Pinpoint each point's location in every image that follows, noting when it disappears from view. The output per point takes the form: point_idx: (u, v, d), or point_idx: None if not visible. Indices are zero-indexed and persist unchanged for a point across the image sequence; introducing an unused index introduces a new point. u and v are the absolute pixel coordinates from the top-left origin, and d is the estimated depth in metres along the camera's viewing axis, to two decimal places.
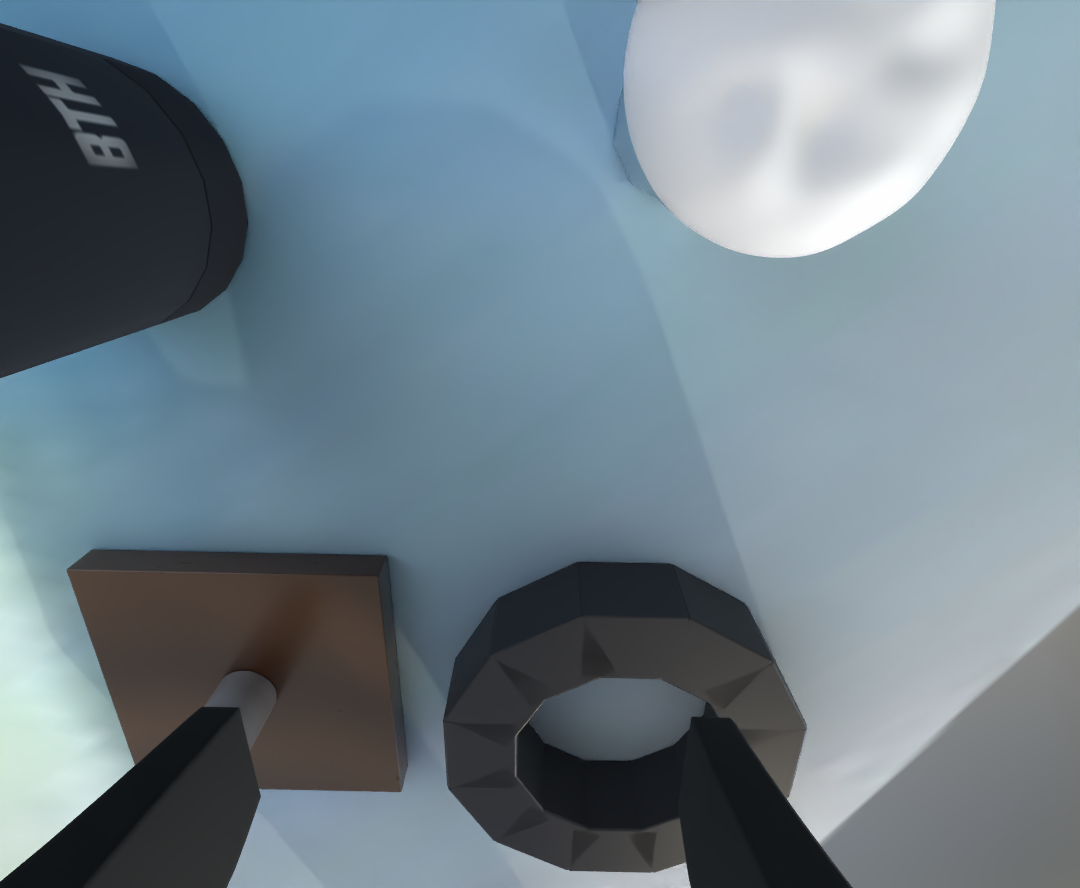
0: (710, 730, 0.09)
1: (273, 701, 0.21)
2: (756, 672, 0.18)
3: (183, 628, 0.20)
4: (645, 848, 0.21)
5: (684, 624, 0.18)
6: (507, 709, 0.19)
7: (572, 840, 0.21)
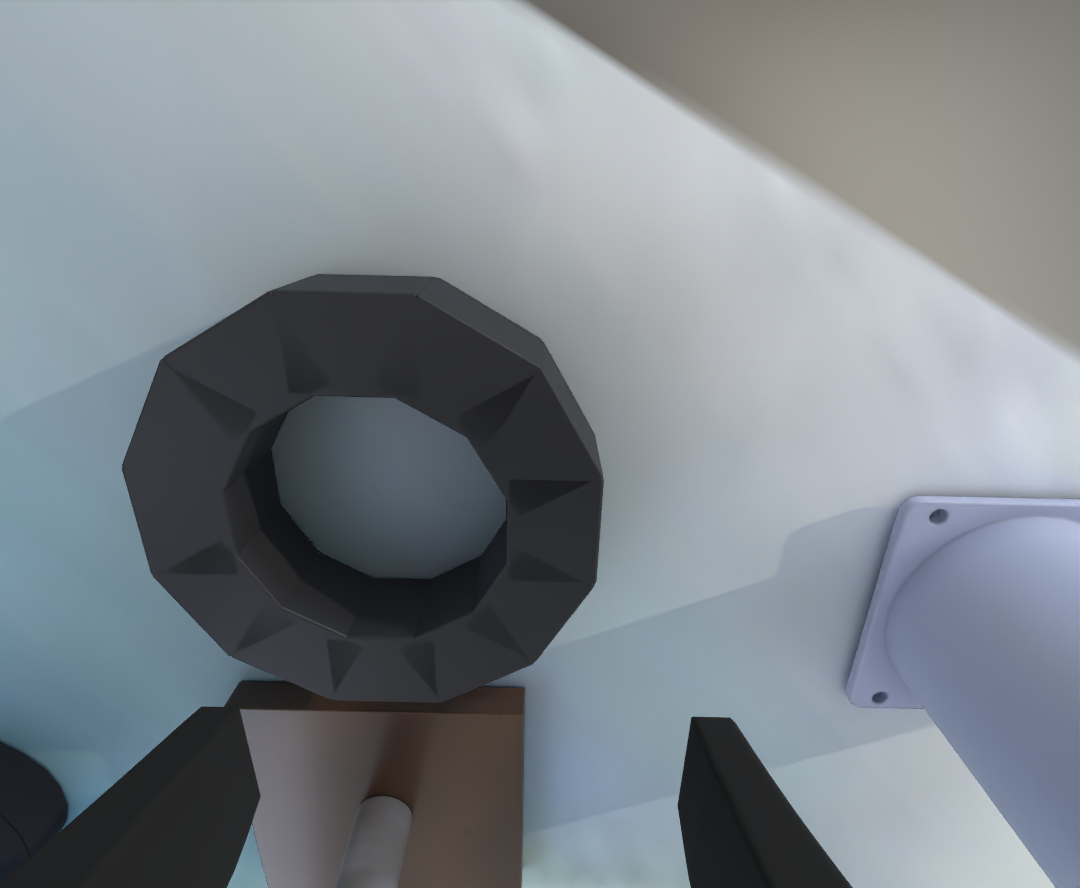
0: (710, 729, 0.09)
1: (384, 803, 0.21)
2: (182, 379, 0.14)
3: (315, 843, 0.22)
4: (544, 492, 0.15)
5: (132, 471, 0.15)
6: (304, 644, 0.17)
7: (529, 580, 0.16)
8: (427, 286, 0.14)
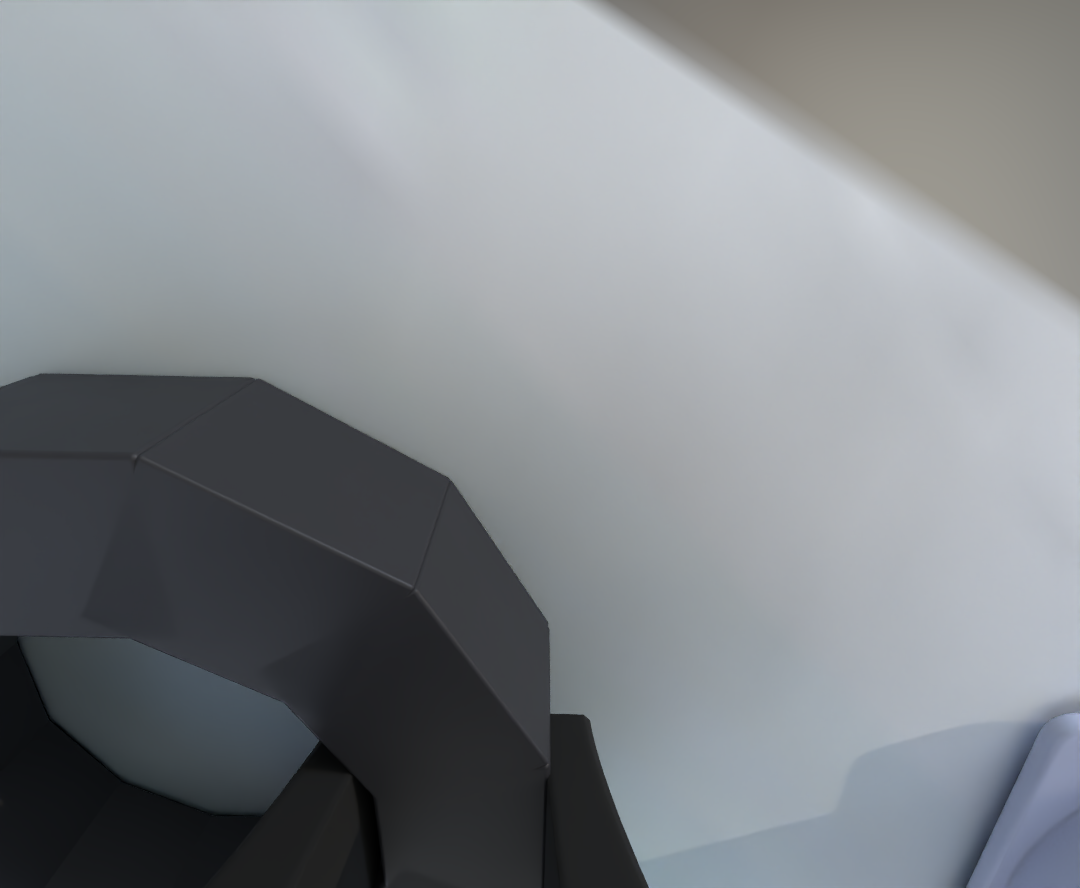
0: (558, 727, 0.09)
1: None
2: None
3: None
4: (440, 786, 0.08)
5: None
6: None
7: None
8: (199, 416, 0.07)
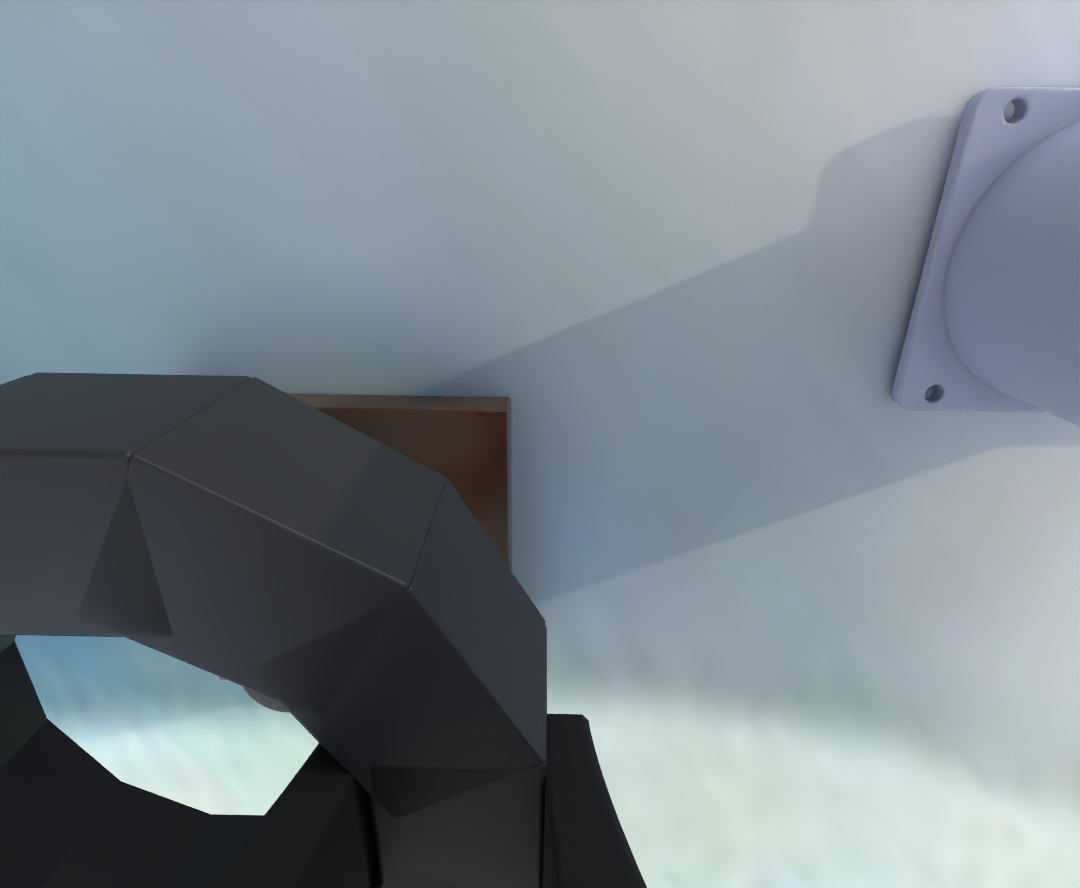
0: (557, 726, 0.09)
1: None
2: None
3: None
4: (437, 785, 0.08)
5: None
6: None
7: None
8: (194, 414, 0.07)
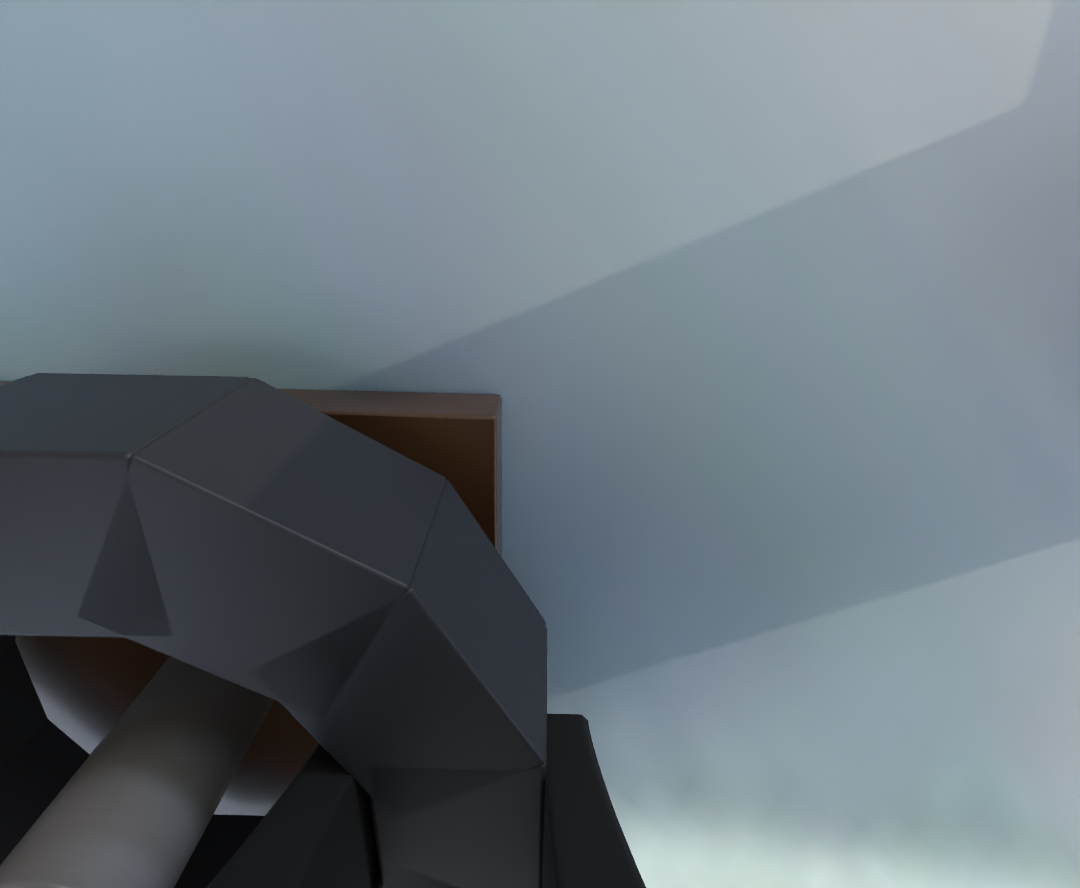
0: (556, 726, 0.09)
1: None
2: None
3: (126, 707, 0.12)
4: (437, 786, 0.08)
5: None
6: None
7: None
8: (195, 415, 0.07)
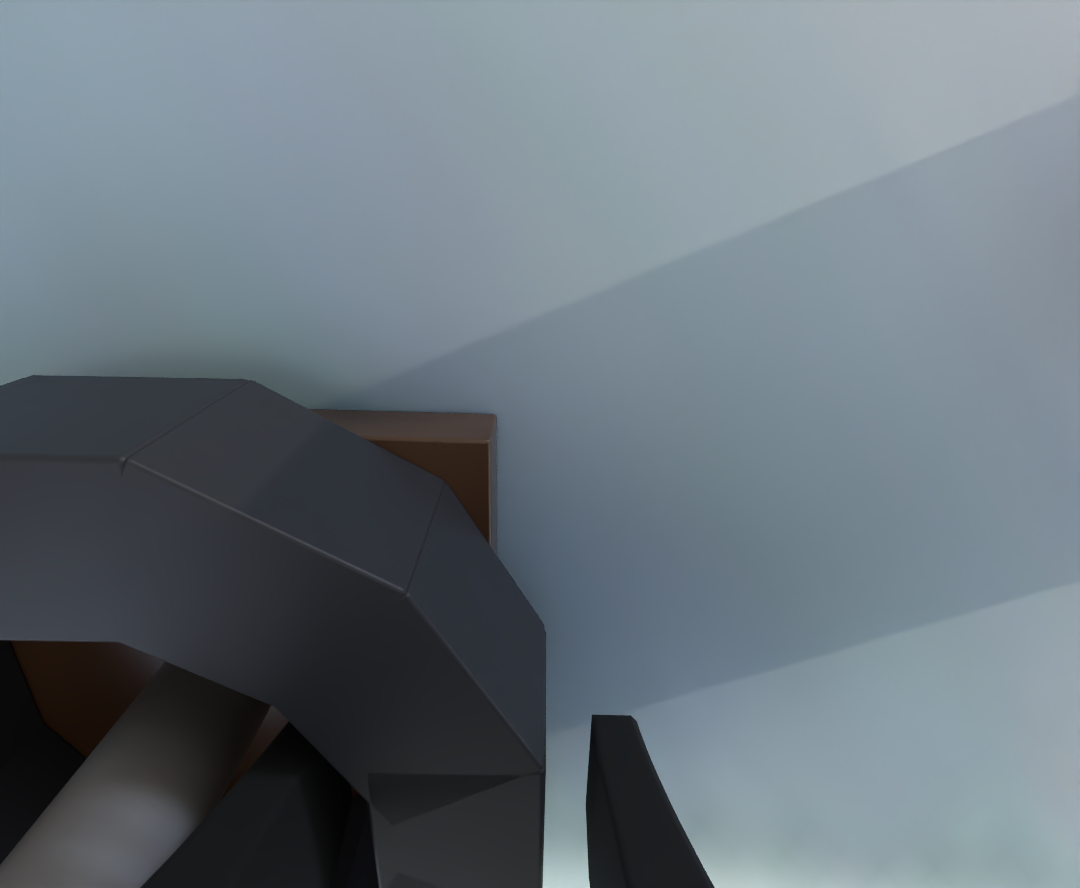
0: (607, 727, 0.09)
1: None
2: None
3: (91, 750, 0.11)
4: (434, 791, 0.08)
5: None
6: None
7: None
8: (190, 418, 0.07)
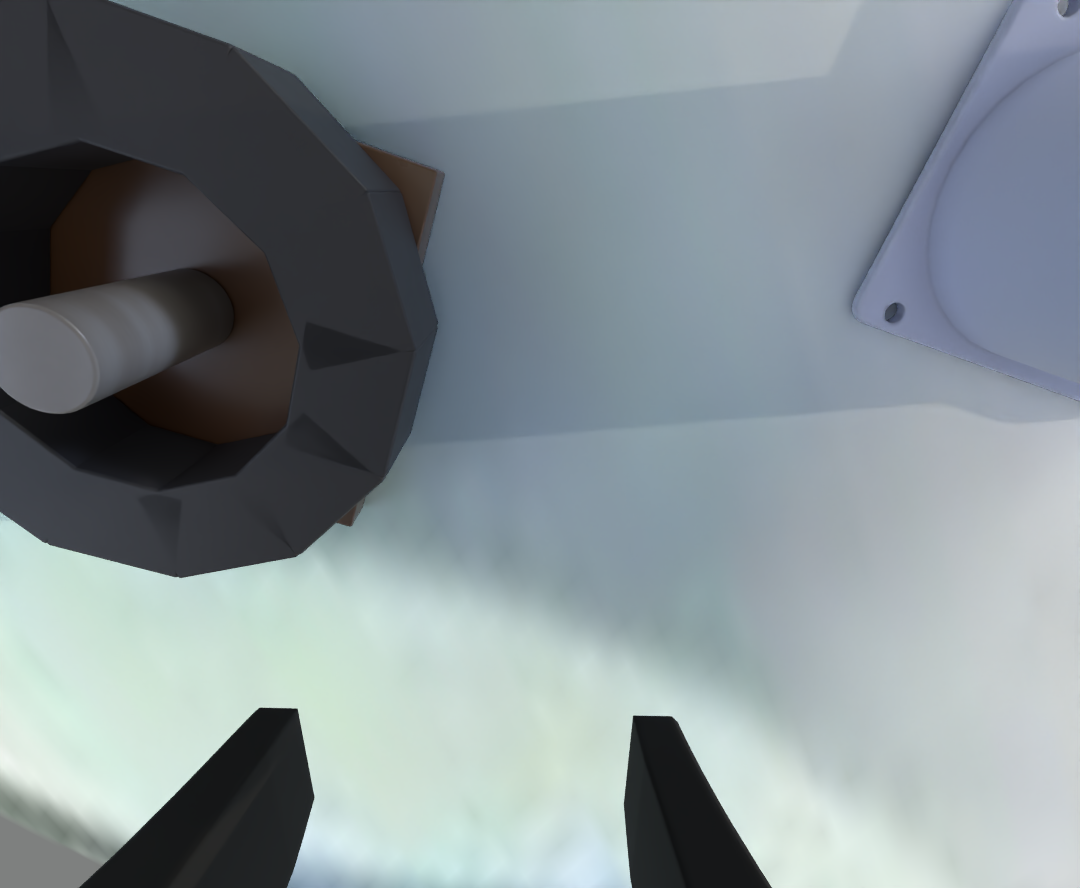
0: (649, 728, 0.09)
1: (197, 274, 0.14)
2: None
3: None
4: (344, 348, 0.12)
5: None
6: (19, 464, 0.14)
7: (309, 454, 0.13)
8: (262, 60, 0.11)
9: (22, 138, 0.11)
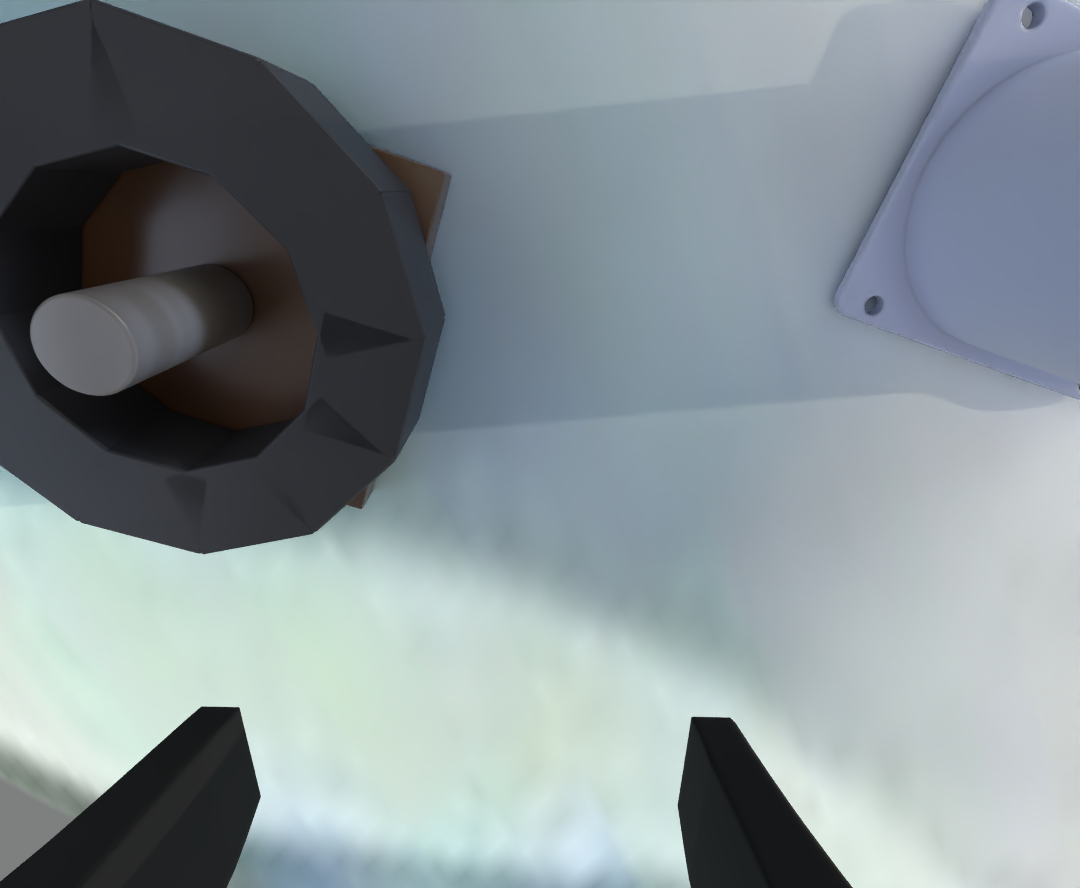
0: (710, 730, 0.09)
1: (220, 270, 0.15)
2: None
3: None
4: (359, 337, 0.13)
5: None
6: (55, 446, 0.15)
7: (325, 436, 0.14)
8: (285, 71, 0.12)
9: (65, 143, 0.12)
